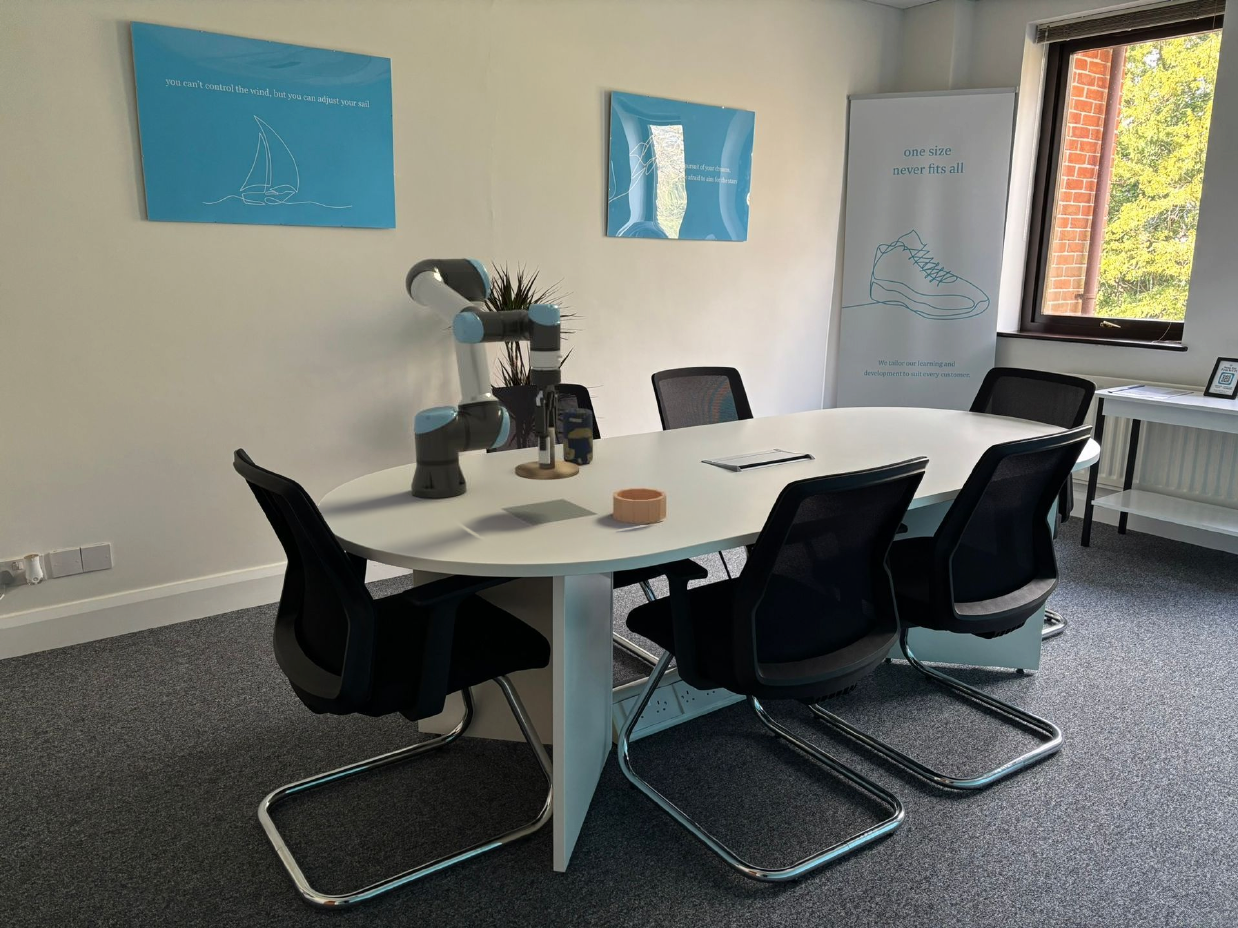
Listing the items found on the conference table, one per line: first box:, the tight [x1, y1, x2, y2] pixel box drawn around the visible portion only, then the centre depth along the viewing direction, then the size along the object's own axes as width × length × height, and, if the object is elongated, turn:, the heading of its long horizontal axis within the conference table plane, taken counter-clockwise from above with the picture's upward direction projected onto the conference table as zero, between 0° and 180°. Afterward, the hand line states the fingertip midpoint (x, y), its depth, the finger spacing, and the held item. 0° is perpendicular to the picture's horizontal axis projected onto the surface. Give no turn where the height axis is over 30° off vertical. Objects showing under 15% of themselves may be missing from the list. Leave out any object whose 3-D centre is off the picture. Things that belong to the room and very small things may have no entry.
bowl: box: [612, 487, 667, 526], centre depth 223 cm, size 13×13×6 cm
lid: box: [514, 427, 580, 481], centre depth 225 cm, size 16×16×11 cm
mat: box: [501, 498, 598, 526], centre depth 228 cm, size 18×18×1 cm
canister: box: [562, 406, 594, 465], centre depth 287 cm, size 10×10×18 cm
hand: (547, 460), depth 226 cm, fingers closed on lid, 4 cm apart
